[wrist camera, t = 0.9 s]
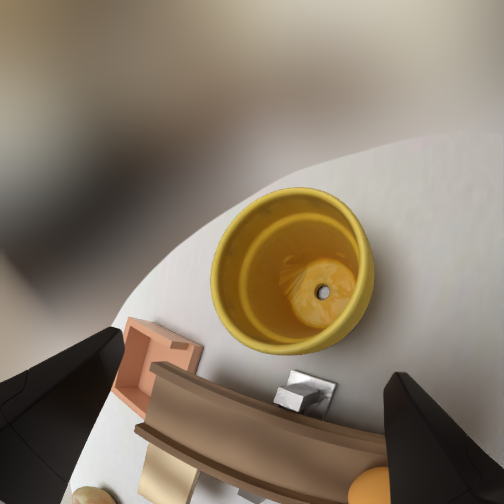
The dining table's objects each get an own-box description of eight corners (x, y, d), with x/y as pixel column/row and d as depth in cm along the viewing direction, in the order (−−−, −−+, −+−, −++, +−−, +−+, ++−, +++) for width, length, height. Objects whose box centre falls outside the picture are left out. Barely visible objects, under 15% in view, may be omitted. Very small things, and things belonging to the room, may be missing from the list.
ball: (388, 503, 13) (392, 530, 10) (340, 495, 15) (336, 522, 11) (411, 462, 14) (421, 485, 10) (361, 453, 16) (362, 477, 12)
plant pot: (256, 277, 29) (191, 243, 21) (346, 218, 26) (312, 157, 18) (298, 374, 24) (239, 383, 16) (405, 315, 21) (406, 291, 13)
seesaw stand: (290, 494, 19) (265, 516, 15) (254, 477, 22) (224, 494, 18) (337, 383, 22) (320, 390, 18) (294, 369, 24) (269, 372, 20)
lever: (344, 566, 12) (342, 582, 10) (135, 484, 20) (119, 492, 18) (424, 441, 15) (433, 453, 13) (166, 361, 23) (148, 362, 21)
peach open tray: (180, 423, 27) (154, 427, 24) (135, 390, 32) (109, 389, 29) (203, 346, 29) (177, 343, 26) (153, 322, 34) (128, 316, 31)
